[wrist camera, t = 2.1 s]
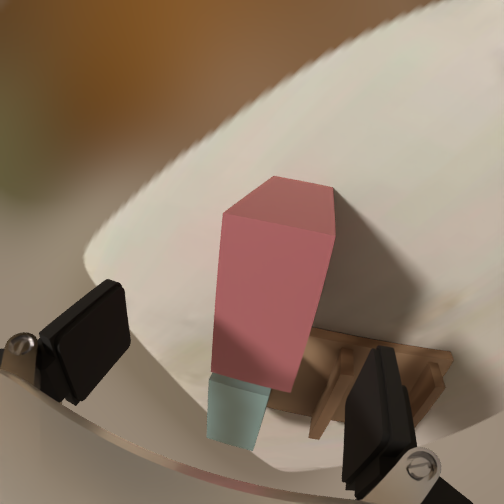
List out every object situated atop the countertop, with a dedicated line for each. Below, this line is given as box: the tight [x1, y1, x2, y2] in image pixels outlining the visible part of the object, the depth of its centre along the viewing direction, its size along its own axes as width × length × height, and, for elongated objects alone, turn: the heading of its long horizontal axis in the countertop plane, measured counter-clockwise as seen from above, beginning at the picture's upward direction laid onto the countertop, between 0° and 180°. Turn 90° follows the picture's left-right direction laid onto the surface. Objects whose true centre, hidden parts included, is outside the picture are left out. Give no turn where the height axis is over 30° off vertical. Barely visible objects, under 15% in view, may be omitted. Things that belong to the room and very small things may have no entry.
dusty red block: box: [211, 176, 336, 393], centre depth 16 cm, size 4×8×10 cm, turn 172°
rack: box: [207, 327, 454, 451], centre depth 21 cm, size 20×10×7 cm, turn 82°
